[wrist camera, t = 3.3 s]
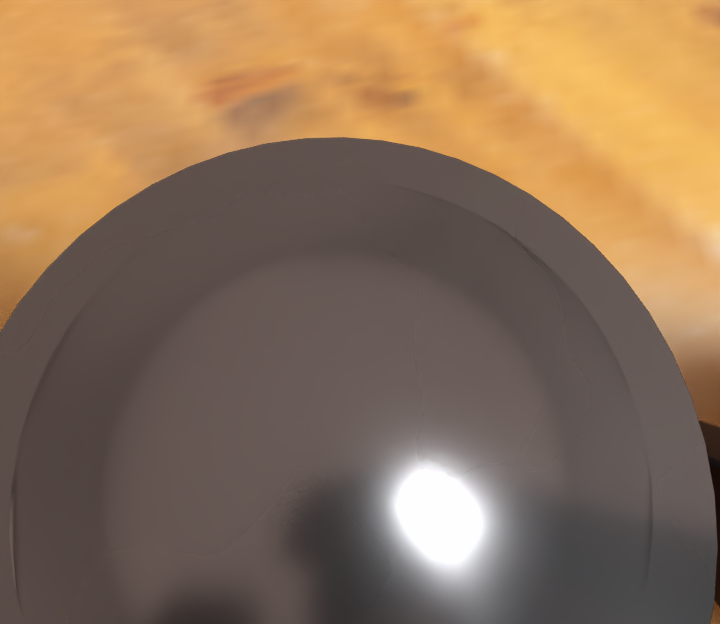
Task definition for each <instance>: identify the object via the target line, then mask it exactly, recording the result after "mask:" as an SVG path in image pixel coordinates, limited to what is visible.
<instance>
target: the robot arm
mask: <svg viewBox="0 0 720 624" xmlns="http://www.w3.org/2000/svg"><path fill="white" fill-rule="evenodd" d="M698 421H699V424H700V428H701V431H702V434H703V437H704V441H705V445H706V450H707V456H708V461H709V467H710V472H711V478H712V483H713V489H714V495H715V512H716V529H717V546H718V549H717V565H716V581H715V597H714V601H715V602H716V603H717V604H718V605H719V607H720V427H719V426H716V425H713V424H710V423H707V422H704V421H701V420H698Z"/></svg>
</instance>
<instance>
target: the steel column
mask: <svg viewBox="0 0 720 624" xmlns="http://www.w3.org/2000/svg"><path fill="white" fill-rule="evenodd" d="M717 549H718V546H717V529H716V512H715V495H714V489H713V483H712V478H711V472H710V467H709V461H708V456H707V450H706V445H705V441H704V437H703V434H702V431H701V428H700V424H699V421H698V418H697V414H696V411H695V408H694V405H693V401H692V398H691V395H690V393H689V390H688V388H687V386H686V384H685V381H684V379H683V377H682V374H681V372H680V370H679V367H678V365H677V363H676V360H675V358H674V356H673V353H672V351H671V350H670V348H669V346H668V344H667V343H666V341H665V339H664V338H663V336H662V334H661V332H660V331H659V329H658V327H657V325H656V324H655V322H654V320H653V318H652V317H651V315H650V313H649V312H648V310H647V309H646V307H645V306H644V305H643V303H642V302H641V301H640V299H639V298H638V297H637V295H636V294H635V292H634V291H633V290H632V288H631V287H630V286H629V284H628V283H627V281H626V280H625V279H624V277H623V276H622V275H621V274H620V273H619V272H618V271H617V270H616V269H615V267H614V266H613V265H612V264H611V263H610V262H609V261H608V260H607V259H606V258H605V256H604V255H603V254H602V253H601V252H600V251H599V250H598V249H597V248H596V247H595V246H594V245H593V244H592V243H591V242H590V241H589V240H588V239H587V238H586V237H584V236H583V235H582V234H581V233H580V232H579V231H578V230H576V229H575V228H574V227H573V226H572V225H571V224H570V223H568V222H567V221H566V220H565V219H564V218H563V217H561V216H560V215H559V214H557V213H556V212H554V211H553V210H551V209H550V208H549V207H547V206H546V205H544V204H543V203H542V202H540V201H539V200H537V199H536V198H534V197H533V196H532V195H530V194H529V193H527V192H525V191H523V190H521V189H520V188H518V187H516V186H514V185H512V184H511V183H509V182H507V181H505V180H503V179H502V178H500V177H498V176H496V175H494V174H492V173H490V172H487V171H485V170H483V169H480V168H478V167H476V166H473V165H471V164H468V163H466V162H464V161H461V160H459V159H456V158H453V157H449V156H446V155H443V154H440V153H436V152H433V151H430V150H426V149H423V148H419V147H414V146H409V145H403V144H398V143H393V142H388V141H382V140H369V139H357V138H345V137H342V138H304V139H297V140H289V141H282V142H274V143H267V144H262V145H258V146H254V147H250V148H246V149H242V150H238V151H233V152H229V153H226V154H223V155H220V156H217V157H215V158H212V159H209V160H206V161H204V162H201V163H198V164H195V165H192V166H190V167H187V168H185V169H183V170H181V171H179V172H177V173H175V174H173V175H171V176H169V177H167V178H165V179H163V180H161V181H159V182H157V183H155V184H152V185H151V186H149V187H147V188H146V189H144V190H143V191H141V192H139V193H138V194H136V195H135V196H133V197H131V198H130V199H128V200H127V201H125V202H124V203H122V204H120V205H119V206H117V207H116V208H114V209H113V210H112V211H110V212H109V213H108V214H107V215H105V216H104V217H103V218H102V219H100V220H99V221H98V222H96V223H95V224H94V225H93V226H91V227H90V228H89V229H88V230H86V231H85V232H84V233H83V234H81V235H80V236H79V237H78V238H77V239H76V240H75V241H74V242H73V243H72V244H71V245H70V246H69V247H68V248H67V249H66V250H65V251H64V252H63V253H62V254H61V255H60V256H59V257H58V258H57V259H56V260H55V261H54V262H53V263H52V264H51V265H50V266H49V267H48V268H47V269H46V270H45V272H44V273H43V274H42V275H41V276H40V278H39V279H38V280H37V281H36V283H35V284H34V285H33V286H32V288H31V289H30V290H29V291H28V293H27V294H26V295H25V296H24V298H23V299H22V300H21V301H20V302H19V304H18V305H17V307H16V308H15V310H14V311H13V313H12V314H11V316H10V318H9V319H8V321H7V322H6V324H5V326H4V327H3V329H2V330H1V332H0V624H710V622H711V616H712V611H713V606H714V597H715V581H716V565H717Z"/></svg>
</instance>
